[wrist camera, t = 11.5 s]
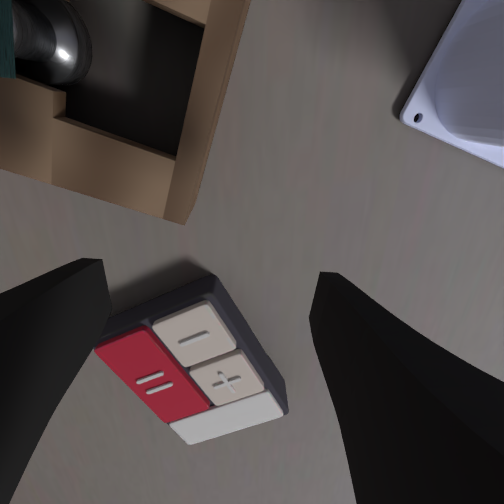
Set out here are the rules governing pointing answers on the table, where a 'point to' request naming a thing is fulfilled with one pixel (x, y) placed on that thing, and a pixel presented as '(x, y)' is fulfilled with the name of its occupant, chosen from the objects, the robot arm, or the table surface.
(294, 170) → the table surface
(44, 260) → the table surface
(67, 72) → the peg
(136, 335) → the calculator
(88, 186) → the keyhole plate
